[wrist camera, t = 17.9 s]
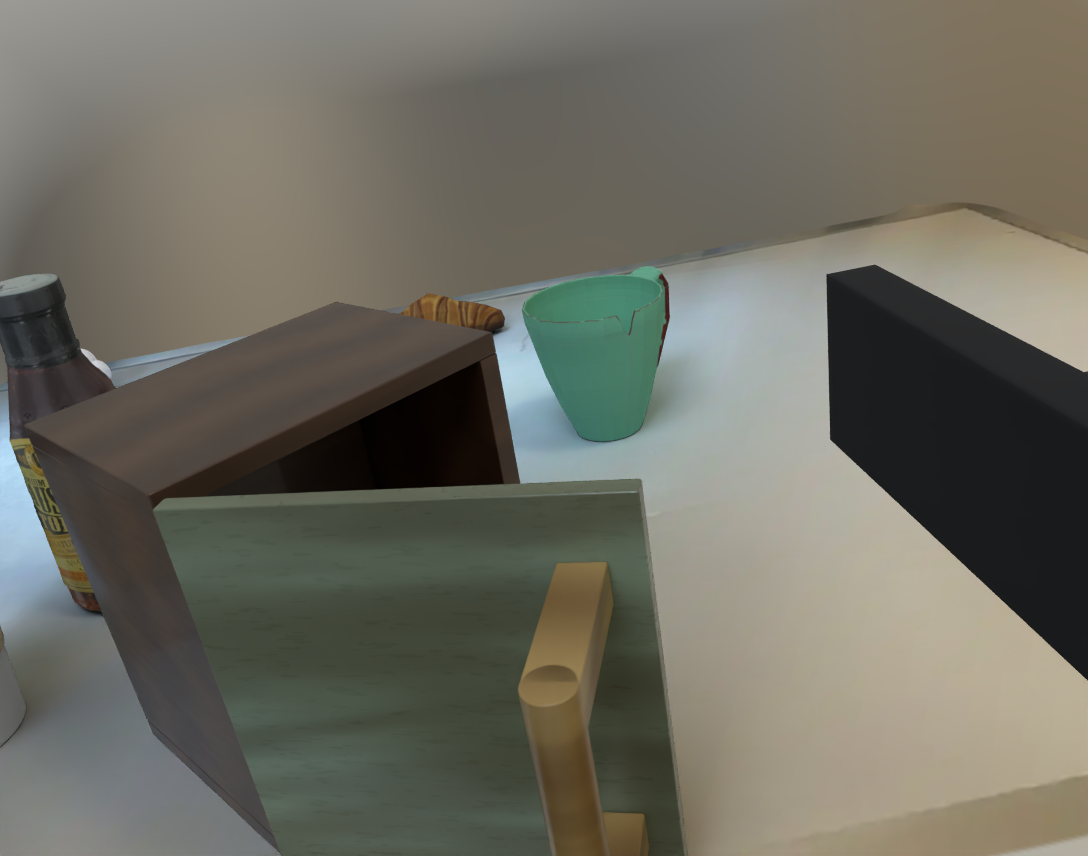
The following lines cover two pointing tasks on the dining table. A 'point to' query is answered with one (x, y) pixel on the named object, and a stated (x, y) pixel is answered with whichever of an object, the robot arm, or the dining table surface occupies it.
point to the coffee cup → (9, 697)
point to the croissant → (456, 313)
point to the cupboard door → (440, 666)
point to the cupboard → (258, 477)
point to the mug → (601, 347)
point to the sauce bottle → (45, 398)
